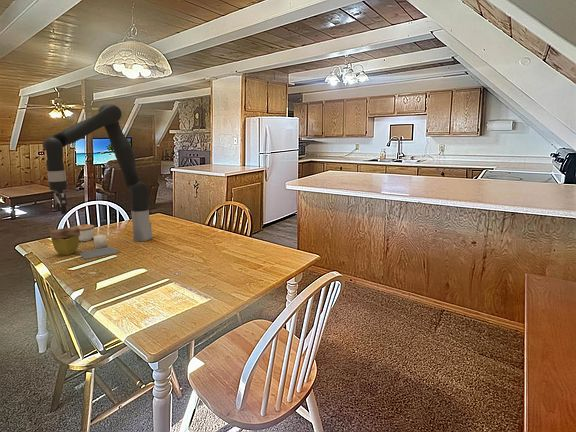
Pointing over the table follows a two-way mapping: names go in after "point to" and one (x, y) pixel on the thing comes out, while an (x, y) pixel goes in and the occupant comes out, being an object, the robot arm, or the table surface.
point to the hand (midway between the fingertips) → (62, 212)
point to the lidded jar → (86, 232)
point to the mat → (98, 252)
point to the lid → (64, 233)
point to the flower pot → (66, 245)
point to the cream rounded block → (100, 241)
